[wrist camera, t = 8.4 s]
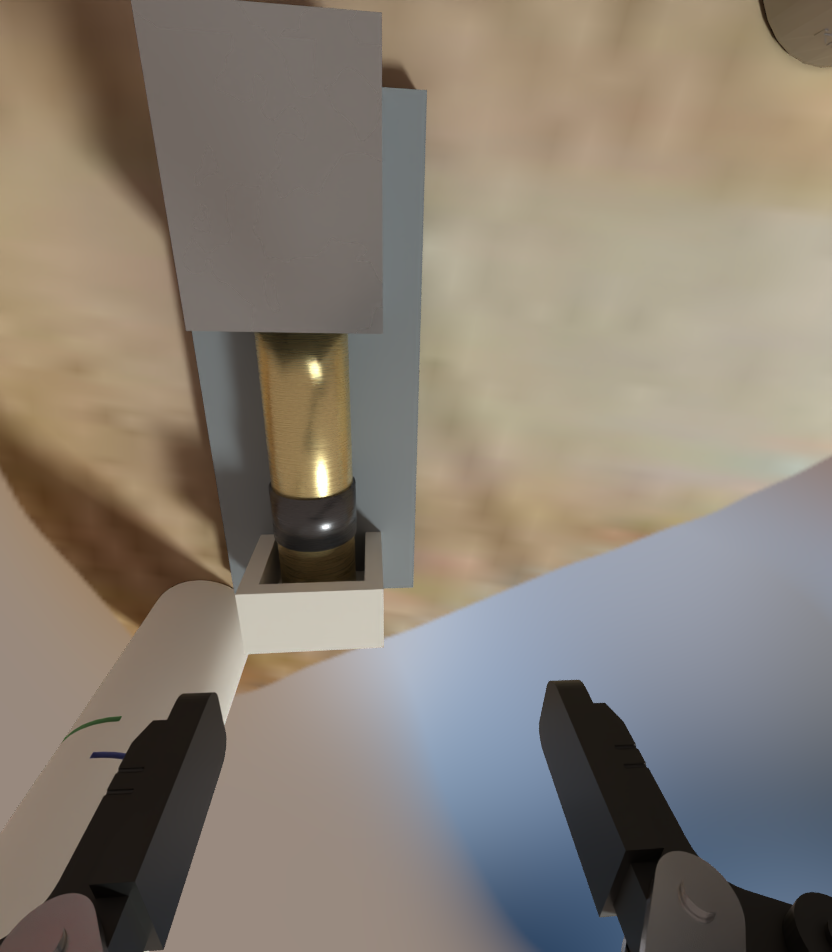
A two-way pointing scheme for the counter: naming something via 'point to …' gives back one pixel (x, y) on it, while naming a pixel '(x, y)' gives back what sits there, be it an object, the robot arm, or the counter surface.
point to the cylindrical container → (118, 733)
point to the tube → (309, 453)
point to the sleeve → (269, 161)
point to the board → (370, 374)
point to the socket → (310, 605)
